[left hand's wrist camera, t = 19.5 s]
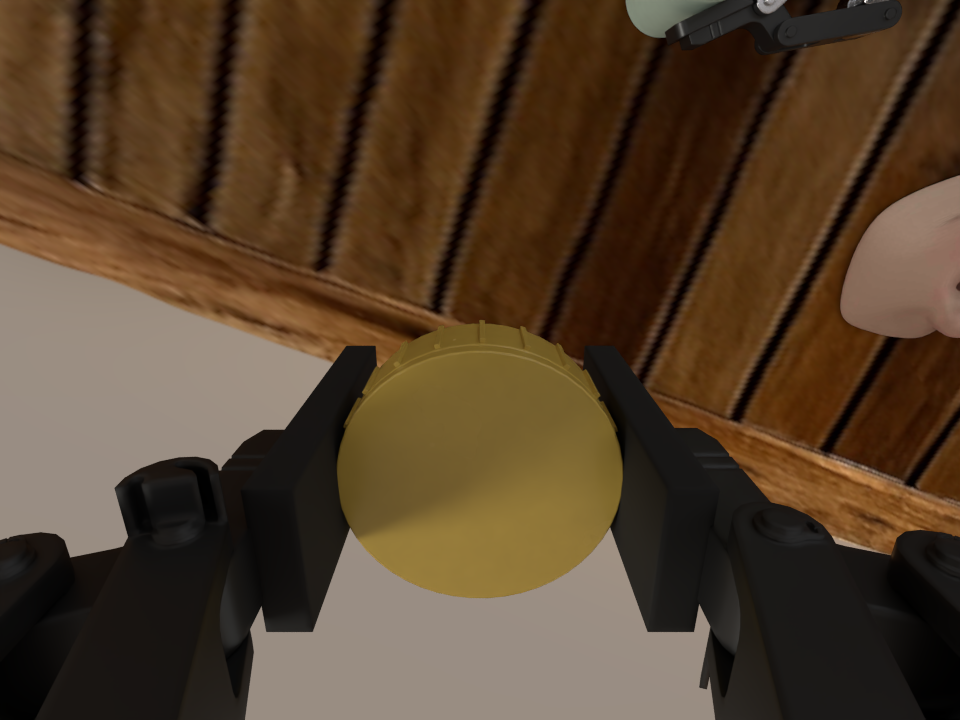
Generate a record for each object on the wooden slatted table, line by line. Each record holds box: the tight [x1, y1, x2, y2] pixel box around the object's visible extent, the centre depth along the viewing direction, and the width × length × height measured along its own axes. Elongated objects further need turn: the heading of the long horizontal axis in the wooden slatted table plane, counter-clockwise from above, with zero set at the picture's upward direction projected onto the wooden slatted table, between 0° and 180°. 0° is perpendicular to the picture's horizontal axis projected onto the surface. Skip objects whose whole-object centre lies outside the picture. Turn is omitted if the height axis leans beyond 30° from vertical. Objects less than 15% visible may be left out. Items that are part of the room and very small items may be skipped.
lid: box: [337, 320, 623, 598], centre depth 11 cm, size 6×6×2 cm
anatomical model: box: [840, 175, 960, 338], centre depth 36 cm, size 13×4×12 cm
